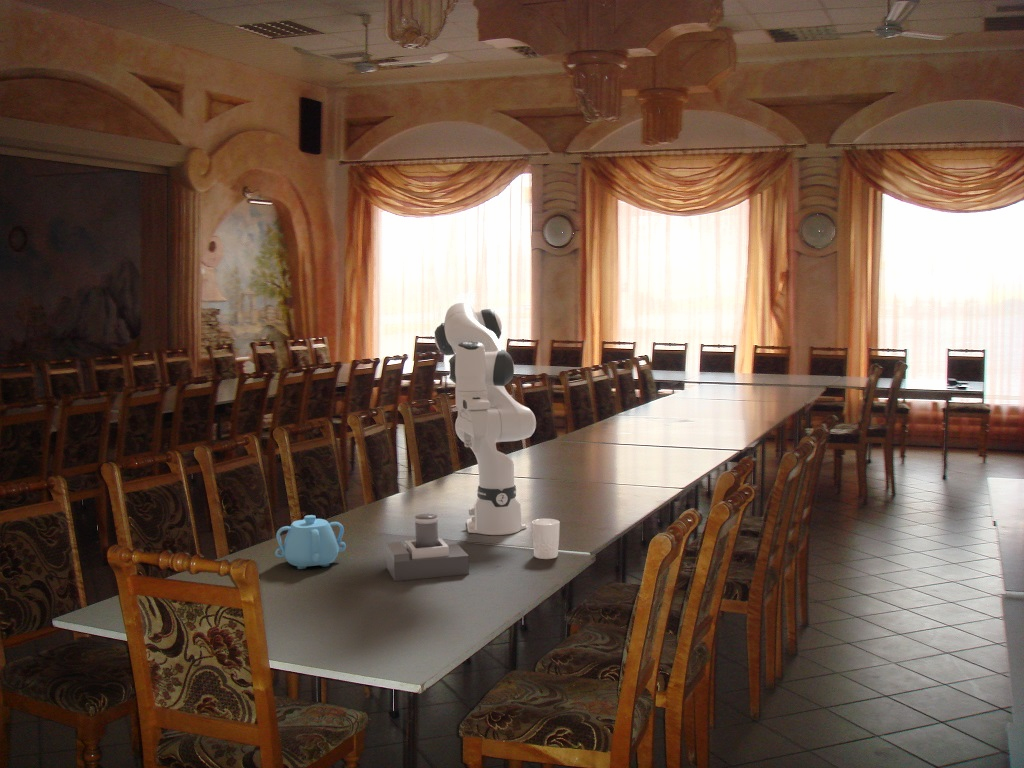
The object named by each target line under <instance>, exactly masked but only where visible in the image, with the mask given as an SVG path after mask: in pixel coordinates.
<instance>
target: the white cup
mask: <svg viewBox="0 0 1024 768" xmlns="http://www.w3.org/2000/svg"><path fill="white" fill-rule="evenodd" d="M560 522H561V521H559V520H558V519H554V518H537V519H534V520H532V521H531V535H532V536H531V537H532V547H533V557H534V558H536V559H539V560H551V559H556V558H558V556H559V546H560V524H561V523H560Z"/></svg>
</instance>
